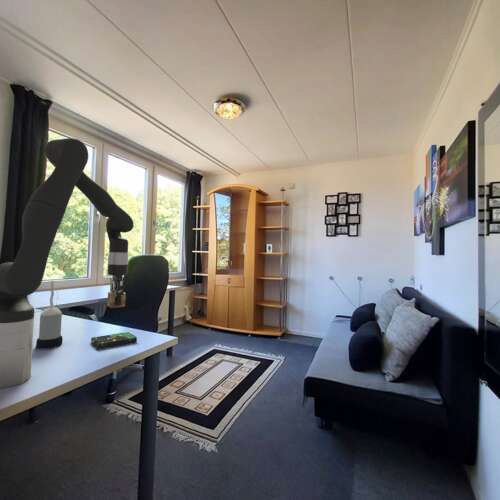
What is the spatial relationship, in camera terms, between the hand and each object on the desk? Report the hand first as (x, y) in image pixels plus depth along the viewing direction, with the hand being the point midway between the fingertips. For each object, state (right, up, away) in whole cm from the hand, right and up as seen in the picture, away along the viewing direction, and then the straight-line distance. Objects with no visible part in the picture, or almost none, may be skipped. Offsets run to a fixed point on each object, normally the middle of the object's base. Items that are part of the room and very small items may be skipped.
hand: (116, 304), depth 109 cm
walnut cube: (0, -1, 0) cm, 1 cm away
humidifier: (-23, -15, -7) cm, 28 cm away
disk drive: (-1, -16, -1) cm, 16 cm away
